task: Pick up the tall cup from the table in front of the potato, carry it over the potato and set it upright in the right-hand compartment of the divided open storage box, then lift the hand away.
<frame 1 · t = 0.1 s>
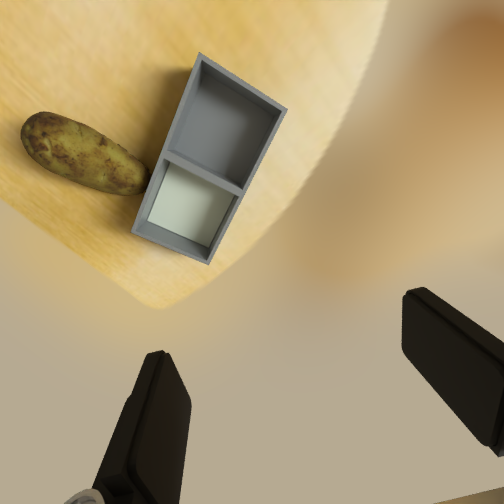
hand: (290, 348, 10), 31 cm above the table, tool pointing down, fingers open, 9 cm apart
potato: (106, 159, 35), on the table
divided open storage box: (207, 170, 37), on the table
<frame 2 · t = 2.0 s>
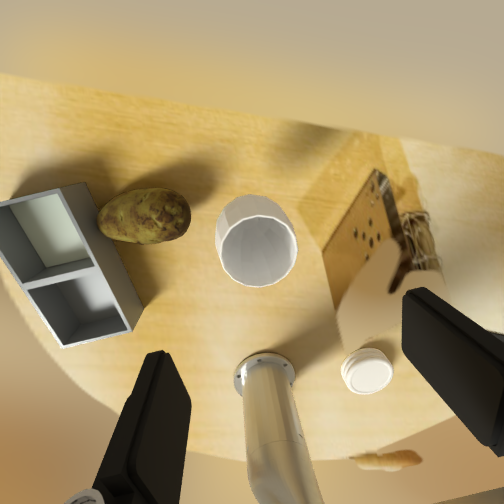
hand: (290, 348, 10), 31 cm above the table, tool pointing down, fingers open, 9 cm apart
potato: (151, 209, 38), on the table
coaster: (361, 363, 55), on the table
cup: (242, 202, 39), on the table
divided open storage box: (83, 260, 40), on the table
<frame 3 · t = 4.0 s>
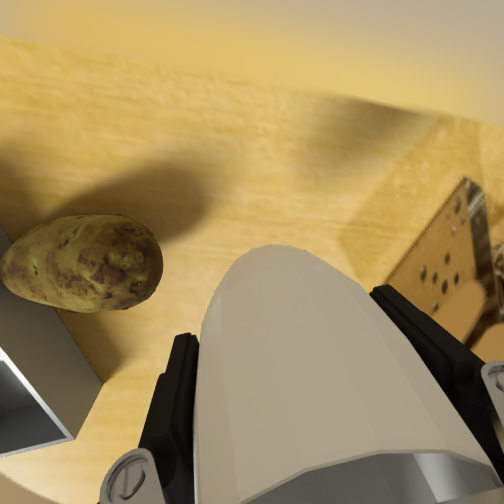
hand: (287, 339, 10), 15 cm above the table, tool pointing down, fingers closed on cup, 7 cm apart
potato: (103, 243, 23), on the table
cup: (252, 230, 24), on the table, touching gripper
divided open storage box: (0, 321, 25), on the table
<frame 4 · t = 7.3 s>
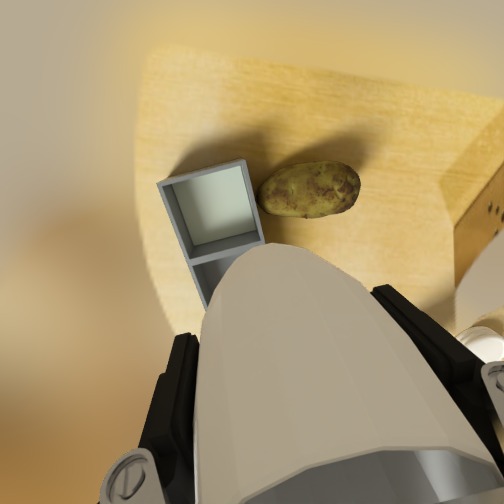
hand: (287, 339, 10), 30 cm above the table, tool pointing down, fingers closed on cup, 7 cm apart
potato: (298, 185, 38), on the table
coaster: (469, 343, 55), on the table
cup: (252, 229, 24), point 15 cm above the table, touching gripper
divided open storage box: (226, 238, 40), on the table
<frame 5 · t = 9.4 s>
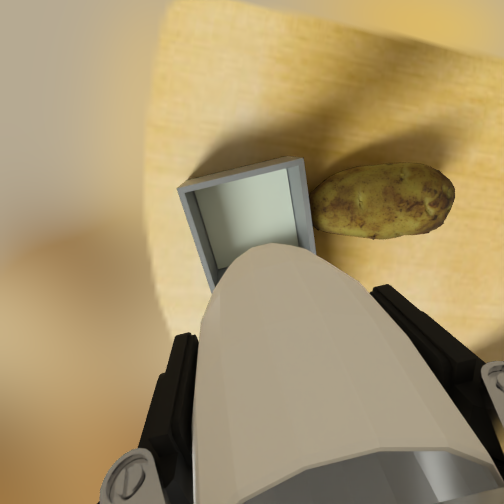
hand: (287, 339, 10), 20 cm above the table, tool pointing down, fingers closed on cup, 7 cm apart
potato: (355, 194, 29), on the table
cup: (252, 229, 24), point 5 cm above the table, touching gripper
divided open storage box: (258, 259, 31), on the table
when the fingers open (17 cm above the table, at t = 10.6 s): cup drops 1 cm, resting on divided open storage box.
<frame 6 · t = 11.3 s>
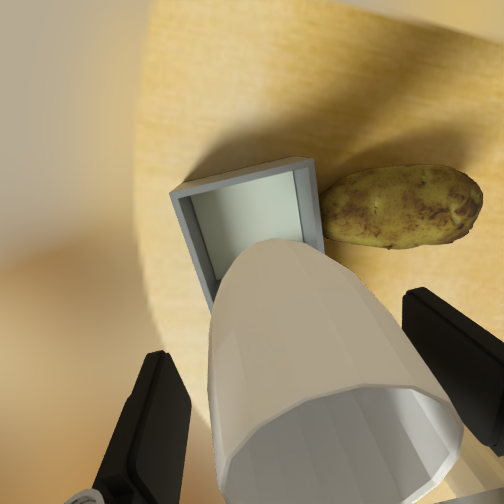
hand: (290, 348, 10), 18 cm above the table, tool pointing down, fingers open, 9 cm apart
potato: (367, 198, 27), on the table
cup: (253, 227, 26), point 1 cm above the table, touching divided open storage box
divided open storage box: (261, 269, 29), on the table
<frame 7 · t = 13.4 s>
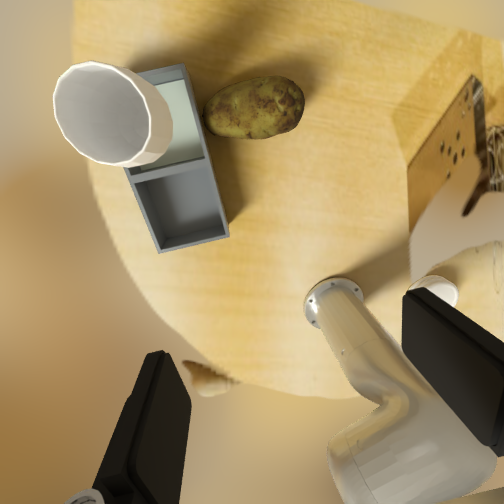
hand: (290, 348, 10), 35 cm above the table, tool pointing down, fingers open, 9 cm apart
potato: (249, 111, 37), on the table
coaster: (424, 293, 56), on the table
cup: (164, 128, 36), point 1 cm above the table, touching divided open storage box
divided open storage box: (176, 166, 39), on the table
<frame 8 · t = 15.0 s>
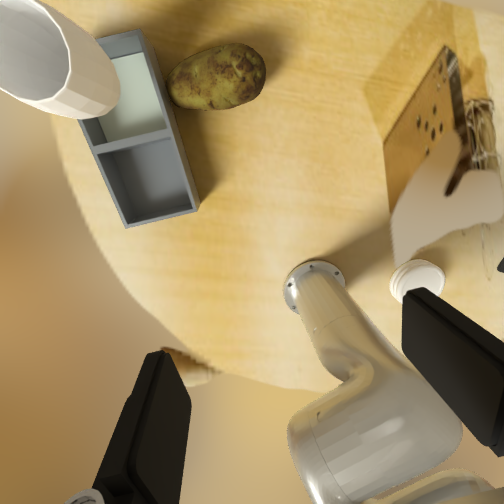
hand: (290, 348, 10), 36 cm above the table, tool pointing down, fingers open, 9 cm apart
potato: (215, 85, 37), on the table
coaster: (410, 279, 54), on the table
cup: (130, 101, 36), point 1 cm above the table, touching divided open storage box
divided open storage box: (145, 142, 39), on the table
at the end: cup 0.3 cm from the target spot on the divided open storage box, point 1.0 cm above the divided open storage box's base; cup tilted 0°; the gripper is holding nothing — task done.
